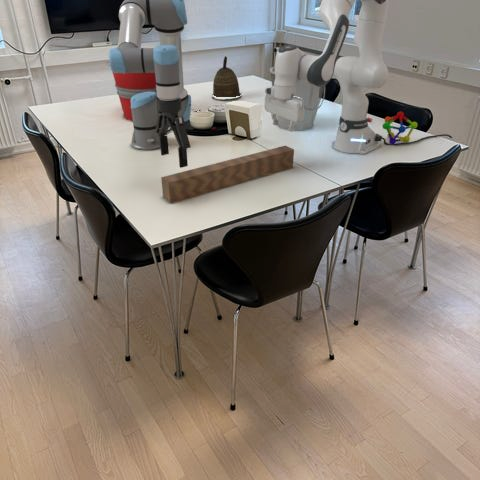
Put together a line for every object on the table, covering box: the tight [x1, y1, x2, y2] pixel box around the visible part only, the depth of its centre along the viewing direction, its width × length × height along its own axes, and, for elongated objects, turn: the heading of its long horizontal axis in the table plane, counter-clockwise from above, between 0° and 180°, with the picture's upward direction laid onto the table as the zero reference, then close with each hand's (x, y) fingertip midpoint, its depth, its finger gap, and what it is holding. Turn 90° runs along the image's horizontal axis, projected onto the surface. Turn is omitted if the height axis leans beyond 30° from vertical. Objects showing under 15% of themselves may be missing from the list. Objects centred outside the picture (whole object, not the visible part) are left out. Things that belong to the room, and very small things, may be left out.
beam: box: [161, 145, 295, 204], centre depth 171 cm, size 57×6×8 cm, turn 125°
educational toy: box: [382, 110, 418, 144], centre depth 207 cm, size 16×13×15 cm
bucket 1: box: [105, 60, 157, 122], centre depth 239 cm, size 35×35×30 cm
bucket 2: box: [269, 65, 327, 131], centre depth 226 cm, size 30×30×28 cm
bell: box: [212, 56, 242, 97], centre depth 278 cm, size 19×26×20 cm
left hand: (174, 160), depth 153 cm, fingers open, 13 cm apart
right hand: (282, 127), depth 176 cm, fingers open, 8 cm apart
